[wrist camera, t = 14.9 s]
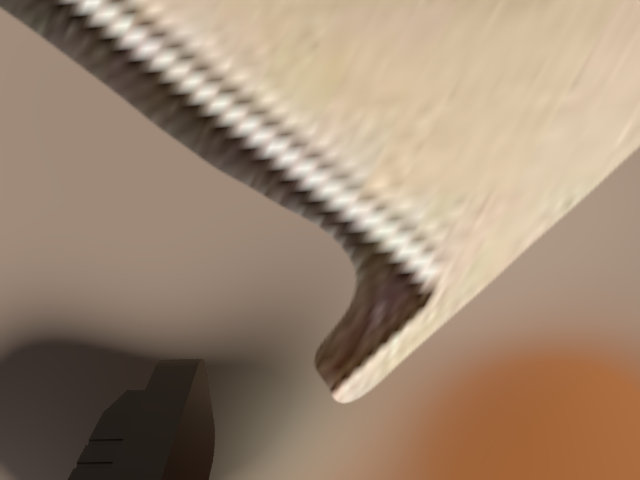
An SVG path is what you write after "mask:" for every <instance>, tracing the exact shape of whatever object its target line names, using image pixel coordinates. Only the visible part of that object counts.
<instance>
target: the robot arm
mask: <svg viewBox="0 0 640 480" xmlns="http://www.w3.org/2000/svg"><path fill="white" fill-rule="evenodd" d="M214 447H215V426H214V418H213V410H212V403H211V396H210V387H209V380H208V372H207V366H206V363H205V361H204V359H163V360H159V362H158V363H157V365H156V366H155V369H154V371H153V373H152V375H151V378H150V380H149V382H148V385H147V387H146V389H145V390H128V391H126V392H125V393H124V394H122V396H120V397H119V398H118V399H117V400H116V401H115V402H114V403H113V404H112V405H111V406H110V407H109V408H108V409H107V410H105V411H104V412H103V414H102V416H101V417H100V419H99V421H98V423H97V425H96V427H95V429H94V431H93V433H92V434H91V436H90V438H89V444H88V445H86V446H85V448H84V450H83V452H82V454H81V455H80V457H79V459H78V461H77V467H76V469H73V471H72V473H71V475H70V477H69V478H68V480H209V476H210V471H211V467H212V463H213V456H214Z"/></svg>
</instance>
